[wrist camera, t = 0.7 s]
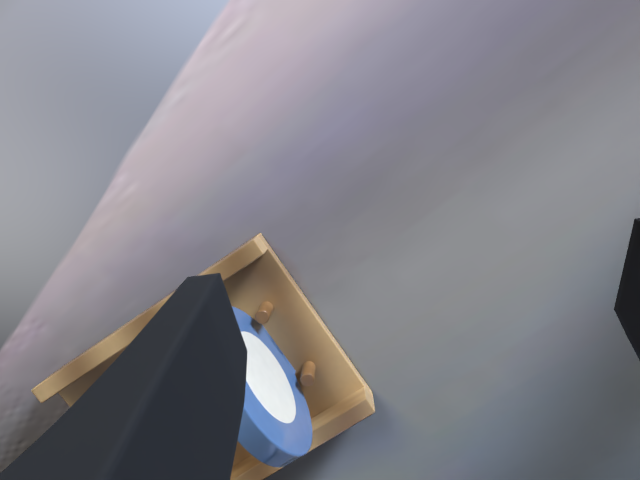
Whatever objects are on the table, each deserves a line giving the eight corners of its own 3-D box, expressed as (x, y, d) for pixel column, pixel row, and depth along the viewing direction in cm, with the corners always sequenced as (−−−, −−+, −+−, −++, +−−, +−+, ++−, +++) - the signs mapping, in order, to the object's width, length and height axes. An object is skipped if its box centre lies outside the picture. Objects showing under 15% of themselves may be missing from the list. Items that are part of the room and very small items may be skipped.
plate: (300, 409, 30) (285, 507, 22) (219, 298, 29) (170, 355, 21) (317, 399, 30) (308, 493, 22) (236, 287, 29) (194, 340, 21)
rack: (167, 516, 33) (153, 547, 30) (53, 372, 31) (27, 392, 29) (372, 392, 30) (375, 414, 28) (260, 232, 29) (253, 239, 26)
